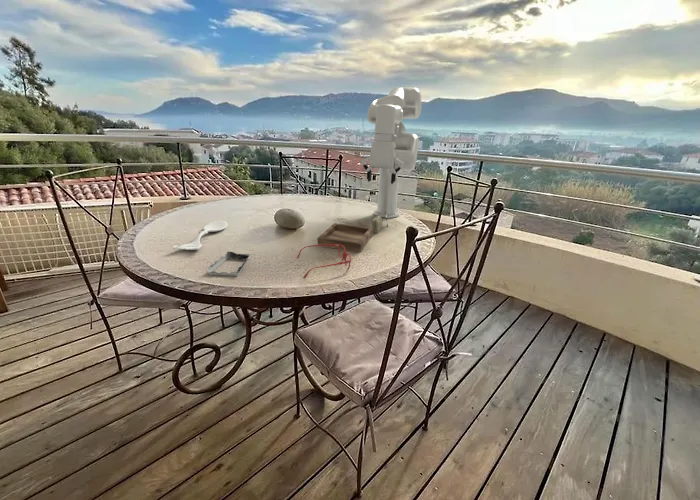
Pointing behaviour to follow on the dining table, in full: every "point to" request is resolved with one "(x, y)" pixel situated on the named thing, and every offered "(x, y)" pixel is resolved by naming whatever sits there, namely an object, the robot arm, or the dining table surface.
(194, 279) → the dining table surface
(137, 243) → the dining table surface
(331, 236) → the wooden tray
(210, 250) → the dining table surface
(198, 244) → the spoon
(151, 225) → the dining table surface
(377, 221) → the cuneiform tablet
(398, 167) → the robot arm
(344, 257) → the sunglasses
